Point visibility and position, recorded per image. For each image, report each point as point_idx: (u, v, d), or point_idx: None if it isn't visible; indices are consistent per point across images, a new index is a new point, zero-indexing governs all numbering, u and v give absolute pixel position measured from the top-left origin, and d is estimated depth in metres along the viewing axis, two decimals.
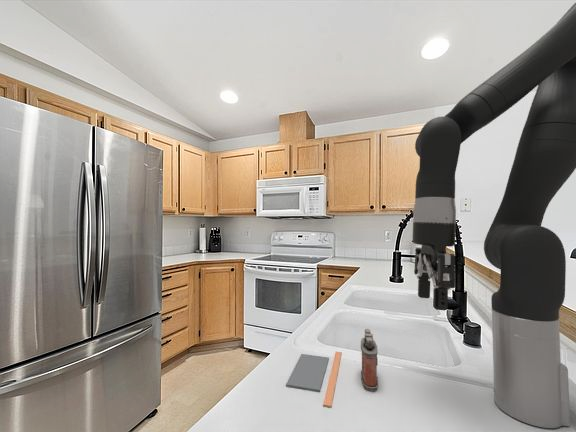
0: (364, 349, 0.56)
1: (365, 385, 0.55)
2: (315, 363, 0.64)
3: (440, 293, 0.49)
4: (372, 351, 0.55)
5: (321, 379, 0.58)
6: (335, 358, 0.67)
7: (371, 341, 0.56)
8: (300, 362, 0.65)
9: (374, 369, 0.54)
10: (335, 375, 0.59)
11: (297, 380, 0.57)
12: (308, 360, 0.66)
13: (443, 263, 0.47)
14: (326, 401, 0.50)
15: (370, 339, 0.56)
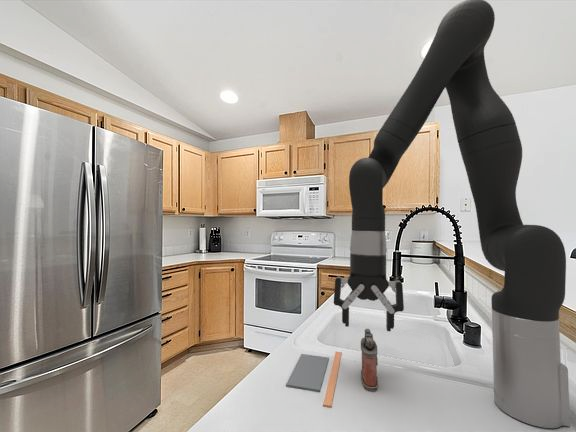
0: (364, 349, 0.56)
1: (365, 385, 0.55)
2: (315, 363, 0.64)
3: (393, 316, 0.56)
4: (372, 351, 0.55)
5: (321, 379, 0.58)
6: (335, 358, 0.67)
7: (371, 341, 0.56)
8: (300, 362, 0.65)
9: (374, 369, 0.54)
10: (335, 375, 0.59)
11: (297, 380, 0.57)
12: (308, 360, 0.66)
13: None
14: (326, 401, 0.50)
15: (370, 339, 0.56)
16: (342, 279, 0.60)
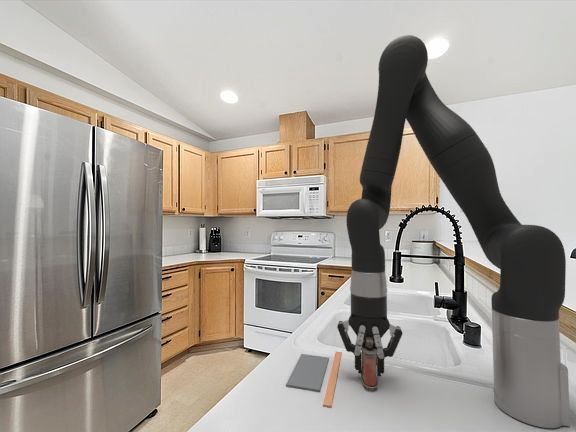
0: (364, 349, 0.56)
1: (365, 385, 0.55)
2: (315, 363, 0.64)
3: (383, 360, 0.57)
4: (372, 351, 0.55)
5: (321, 379, 0.58)
6: (335, 358, 0.67)
7: (371, 341, 0.56)
8: (300, 362, 0.65)
9: (374, 369, 0.54)
10: (335, 375, 0.59)
11: (297, 380, 0.57)
12: (308, 360, 0.66)
13: (399, 338, 0.56)
14: (326, 401, 0.50)
15: (370, 339, 0.56)
16: (343, 323, 0.59)
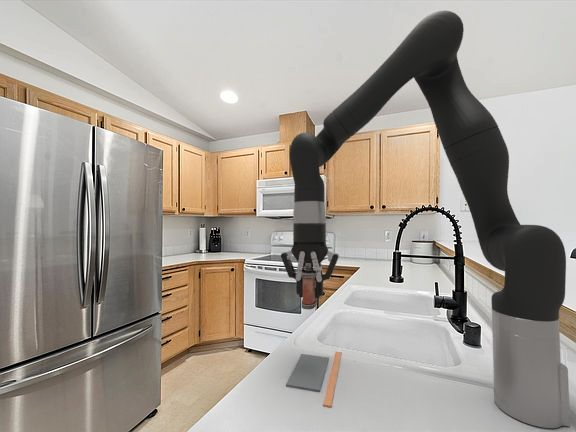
0: (303, 272, 0.60)
1: (302, 304, 0.59)
2: (315, 363, 0.64)
3: (322, 284, 0.61)
4: (309, 273, 0.59)
5: (321, 379, 0.58)
6: (335, 358, 0.67)
7: (309, 264, 0.60)
8: (300, 362, 0.65)
9: (310, 289, 0.59)
10: (335, 375, 0.59)
11: (297, 380, 0.57)
12: (308, 360, 0.66)
13: (336, 262, 0.60)
14: (326, 401, 0.50)
15: (308, 263, 0.60)
16: (287, 252, 0.64)
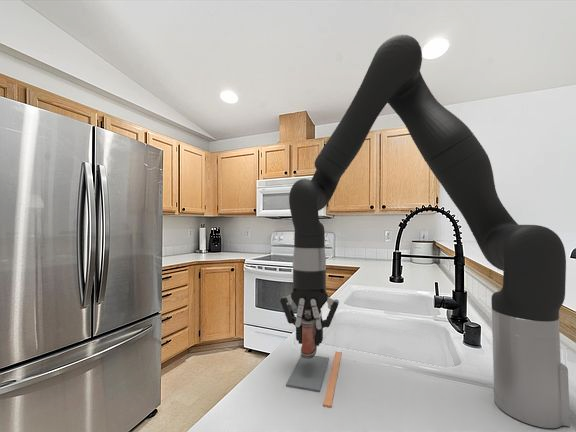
0: (303, 320, 0.60)
1: (302, 353, 0.58)
2: (315, 363, 0.64)
3: (322, 331, 0.61)
4: (309, 321, 0.59)
5: (321, 379, 0.58)
6: (335, 358, 0.67)
7: (309, 312, 0.59)
8: (300, 362, 0.65)
9: (310, 338, 0.58)
10: (335, 375, 0.59)
11: (297, 380, 0.57)
12: (308, 360, 0.66)
13: (335, 310, 0.60)
14: (326, 401, 0.50)
15: (308, 310, 0.60)
16: (286, 297, 0.63)
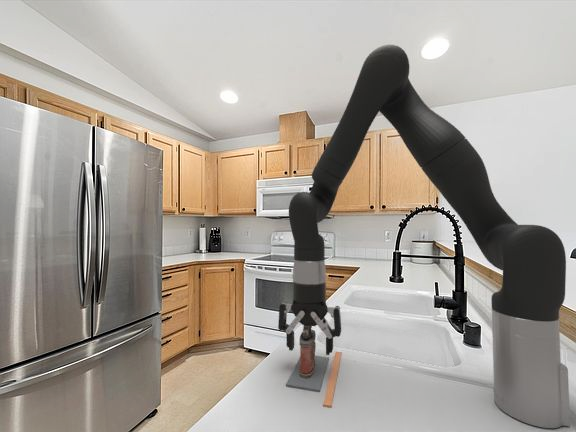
0: (301, 339, 0.60)
1: (300, 372, 0.59)
2: None
3: (332, 340, 0.60)
4: (307, 341, 0.59)
5: (321, 379, 0.58)
6: (335, 358, 0.67)
7: (307, 332, 0.59)
8: None
9: (308, 358, 0.58)
10: (335, 375, 0.59)
11: (297, 380, 0.57)
12: None
13: (339, 316, 0.59)
14: (326, 401, 0.50)
15: (306, 330, 0.60)
16: (286, 305, 0.63)
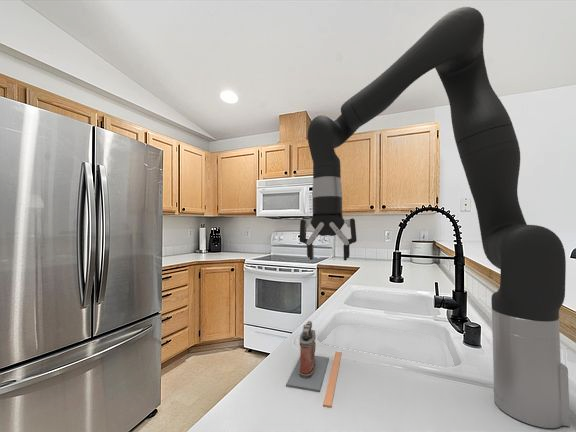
0: (301, 339, 0.60)
1: (300, 372, 0.59)
2: None
3: None
4: (307, 341, 0.59)
5: (321, 379, 0.58)
6: (335, 358, 0.67)
7: (306, 332, 0.59)
8: None
9: (308, 358, 0.58)
10: (335, 375, 0.59)
11: (297, 380, 0.57)
12: None
13: None
14: (326, 401, 0.50)
15: (306, 330, 0.60)
16: (306, 220, 0.70)
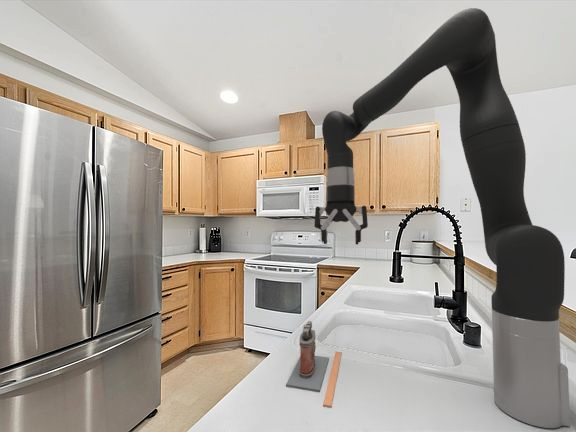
0: (301, 339, 0.60)
1: (300, 372, 0.59)
2: None
3: (360, 232, 0.73)
4: (307, 341, 0.59)
5: (321, 379, 0.58)
6: (335, 358, 0.67)
7: (306, 332, 0.59)
8: None
9: (308, 358, 0.58)
10: (335, 375, 0.59)
11: (297, 380, 0.57)
12: None
13: (366, 212, 0.72)
14: (326, 401, 0.50)
15: (306, 330, 0.60)
16: (321, 208, 0.76)
